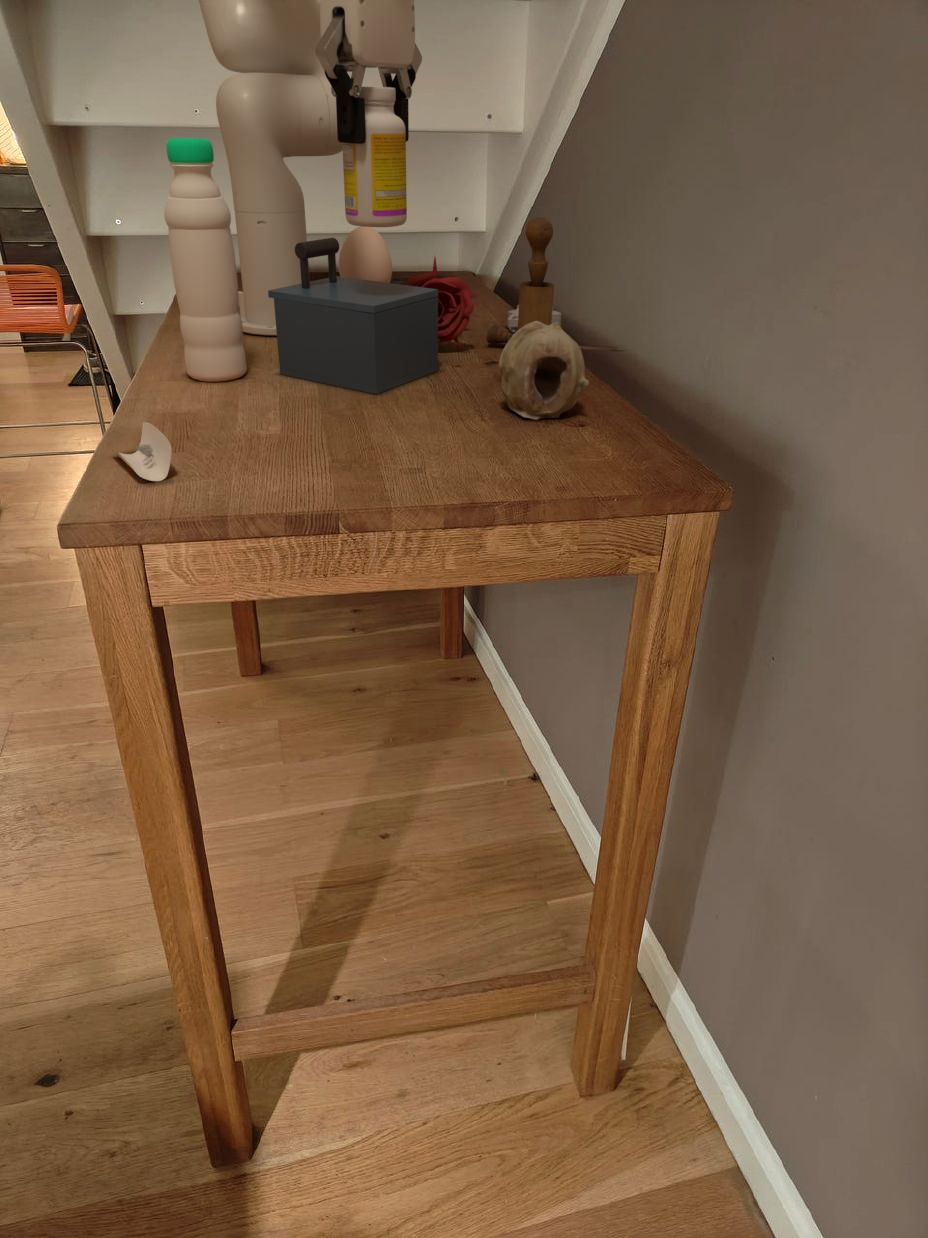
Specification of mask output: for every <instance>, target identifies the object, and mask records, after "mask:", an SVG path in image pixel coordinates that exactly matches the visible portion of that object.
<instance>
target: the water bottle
mask: <svg viewBox="0 0 928 1238" xmlns="http://www.w3.org/2000/svg"><path fill="white" fill-rule="evenodd" d="M166 155H167V159H168V162H170V164H169V166H170V167H171V169H172V170H173V175H174V177H173V180H172V183H171V185H170V188H169V196H168V197H167V200H166V203H165V207H164V213H163V215H164V220H165V223H166V226H167V227H168V244H169V245H168V247H169V254H170V255H169V256H170V262H171V270H172V277H173V284H174V289H175V290H174V291H175V295H176V301H177V305H178V309H179V327H180V334H181V338H182V342H183V351H184V352H183V353H184V355H183V356H184V364H185V371H186V373H187V375H188V376H189V377H190V378H191V379H193V380H196V381H200V382H201V381H202V382H212V383H213V382H215V383H217V382H227V381H233V380H236V379H239V378H241V377H243V376H244V374H246V372H247V369H248V363H247V355H246V350H245V346H244V342H243V341H244V339H243V338H244V332H243V328H242V320H241V315H240V307H239V296H238V291H239V282H238V274H237V273H238V271H237V263H236V256H235V247H234V241H233V236H232V230H231V227H230V226H231V222H232V215H231V209H230V208H229V205H228V204H227V202H226V200H225V198H224V197H223V196H222V195H221V190H220V188H219V186H218V185H217V183H216V182H215V180H214V179H213V176H212V168H213V167H214V164H213V162H214V159H215V158H214V157H215V156H214V148H213V143H212V142H211V141H210V140H209V139H207V138H203V137H201V138H200V137H172V138H169V139H167V141H166Z"/></svg>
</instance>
